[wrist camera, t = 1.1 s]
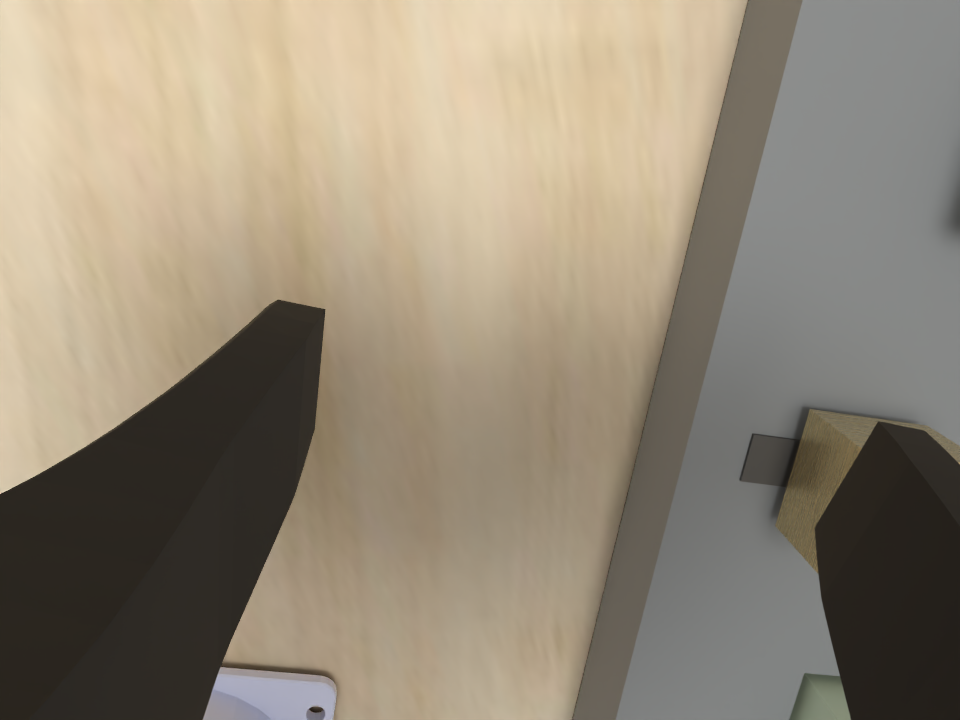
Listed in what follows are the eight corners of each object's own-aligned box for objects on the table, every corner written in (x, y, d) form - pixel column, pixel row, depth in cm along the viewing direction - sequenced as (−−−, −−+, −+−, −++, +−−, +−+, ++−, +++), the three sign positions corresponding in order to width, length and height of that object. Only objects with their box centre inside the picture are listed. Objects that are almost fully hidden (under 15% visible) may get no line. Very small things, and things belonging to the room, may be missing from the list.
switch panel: (963, 829, 30) (1041, 929, 26) (552, 803, 28) (577, 908, 24) (1297, -6, 23) (1465, -21, 19) (779, -130, 21) (863, -172, 17)
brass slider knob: (888, 539, 22) (947, 591, 20) (774, 525, 22) (821, 578, 20) (927, 425, 21) (993, 467, 19) (809, 408, 21) (862, 449, 19)
